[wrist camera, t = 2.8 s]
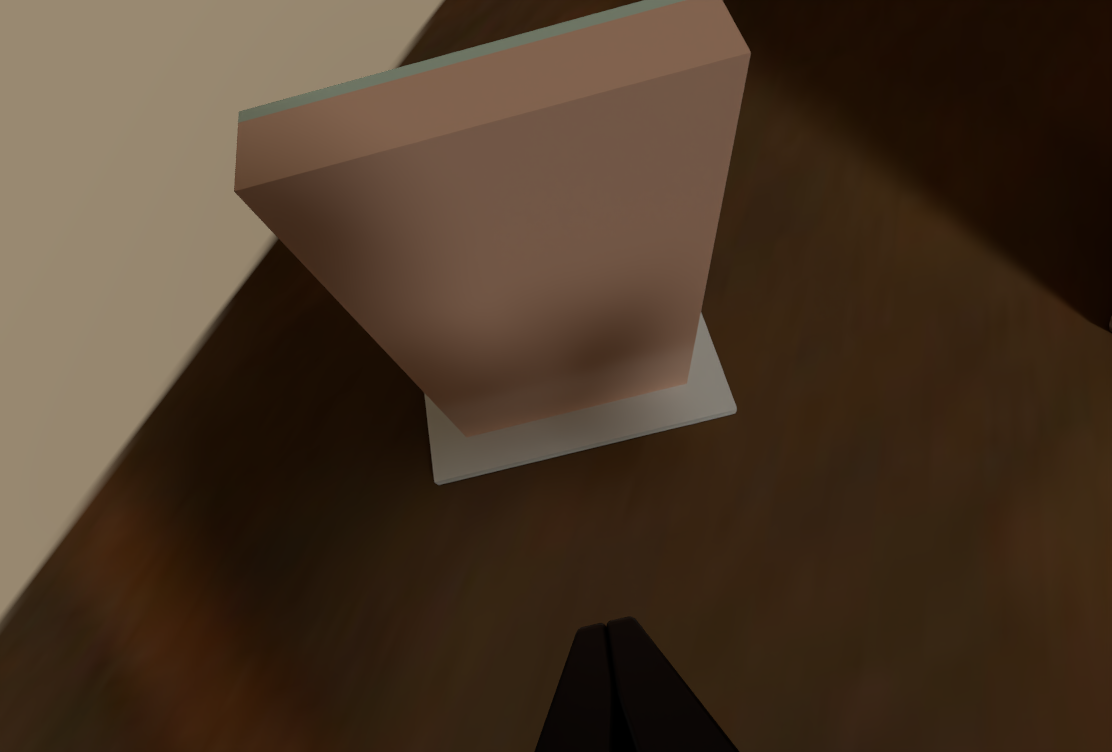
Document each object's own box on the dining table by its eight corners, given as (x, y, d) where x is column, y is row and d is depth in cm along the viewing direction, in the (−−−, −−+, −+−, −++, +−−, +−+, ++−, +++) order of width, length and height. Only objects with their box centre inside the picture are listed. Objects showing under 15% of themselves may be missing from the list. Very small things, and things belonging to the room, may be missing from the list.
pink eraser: (466, 437, 22) (233, 190, 10) (459, 392, 23) (239, 111, 10) (686, 383, 22) (750, 52, 9) (672, 340, 23) (712, -19, 10)
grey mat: (438, 485, 22) (434, 482, 22) (401, 159, 30) (397, 152, 29) (735, 413, 22) (737, 409, 21) (619, 101, 29) (619, 93, 29)
